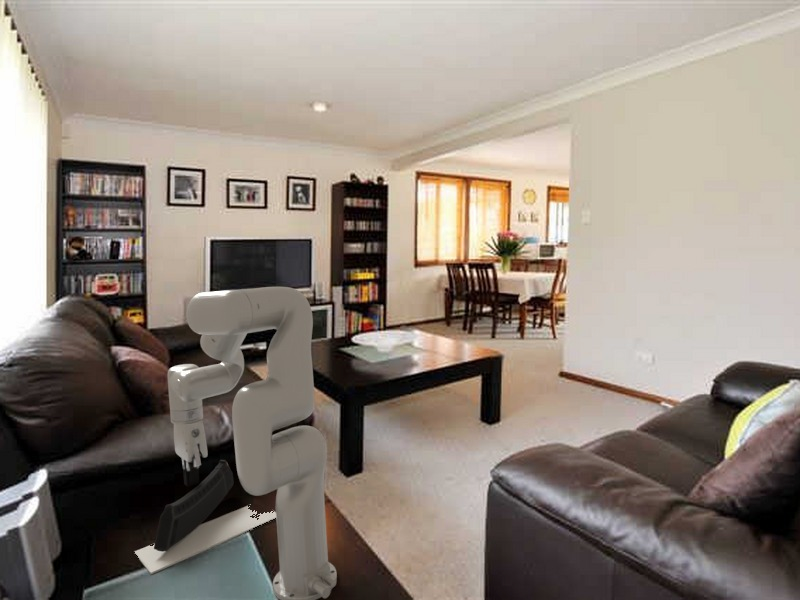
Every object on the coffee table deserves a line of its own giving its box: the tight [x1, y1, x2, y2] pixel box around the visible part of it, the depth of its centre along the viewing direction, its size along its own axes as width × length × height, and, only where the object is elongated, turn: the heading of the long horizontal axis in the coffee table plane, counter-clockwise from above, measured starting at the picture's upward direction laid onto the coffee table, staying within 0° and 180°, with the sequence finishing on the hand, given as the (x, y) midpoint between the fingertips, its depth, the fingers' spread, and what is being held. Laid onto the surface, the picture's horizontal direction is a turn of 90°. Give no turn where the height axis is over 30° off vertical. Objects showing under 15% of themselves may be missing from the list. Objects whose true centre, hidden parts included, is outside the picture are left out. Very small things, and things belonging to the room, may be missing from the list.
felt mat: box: [134, 505, 276, 575], centre depth 118 cm, size 12×31×1 cm, turn 134°
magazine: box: [154, 459, 235, 552], centre depth 122 cm, size 17×3×30 cm
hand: (192, 483), depth 125 cm, fingers closed
